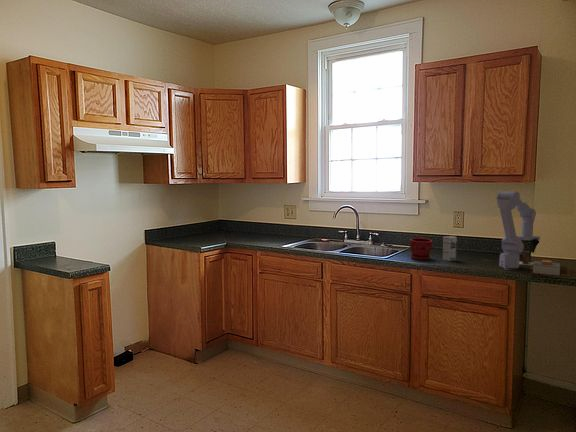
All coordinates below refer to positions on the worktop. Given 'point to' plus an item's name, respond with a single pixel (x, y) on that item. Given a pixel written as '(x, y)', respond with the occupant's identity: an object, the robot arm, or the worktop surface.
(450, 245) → the syrup box
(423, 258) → the plant pot
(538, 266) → the switch box
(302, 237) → the worktop surface
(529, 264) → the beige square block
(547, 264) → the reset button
